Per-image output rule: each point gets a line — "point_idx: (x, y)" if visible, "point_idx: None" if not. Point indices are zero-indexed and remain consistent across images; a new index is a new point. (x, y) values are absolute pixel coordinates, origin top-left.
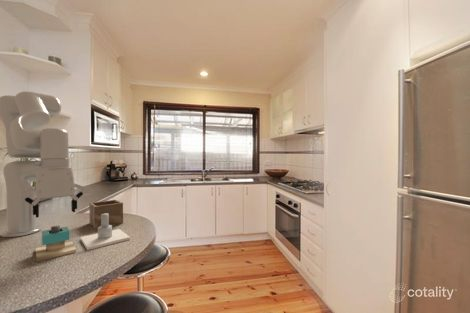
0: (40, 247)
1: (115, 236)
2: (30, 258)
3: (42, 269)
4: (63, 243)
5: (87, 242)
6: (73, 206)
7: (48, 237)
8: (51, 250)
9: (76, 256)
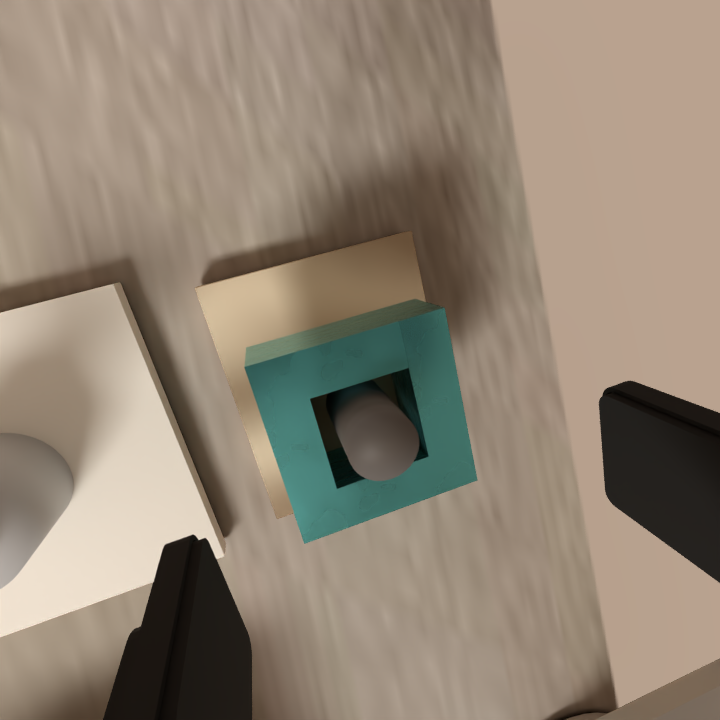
0: None
1: None
2: None
3: (345, 81)
4: None
5: (139, 407)
6: (172, 606)
7: (397, 316)
8: None
9: (178, 204)
